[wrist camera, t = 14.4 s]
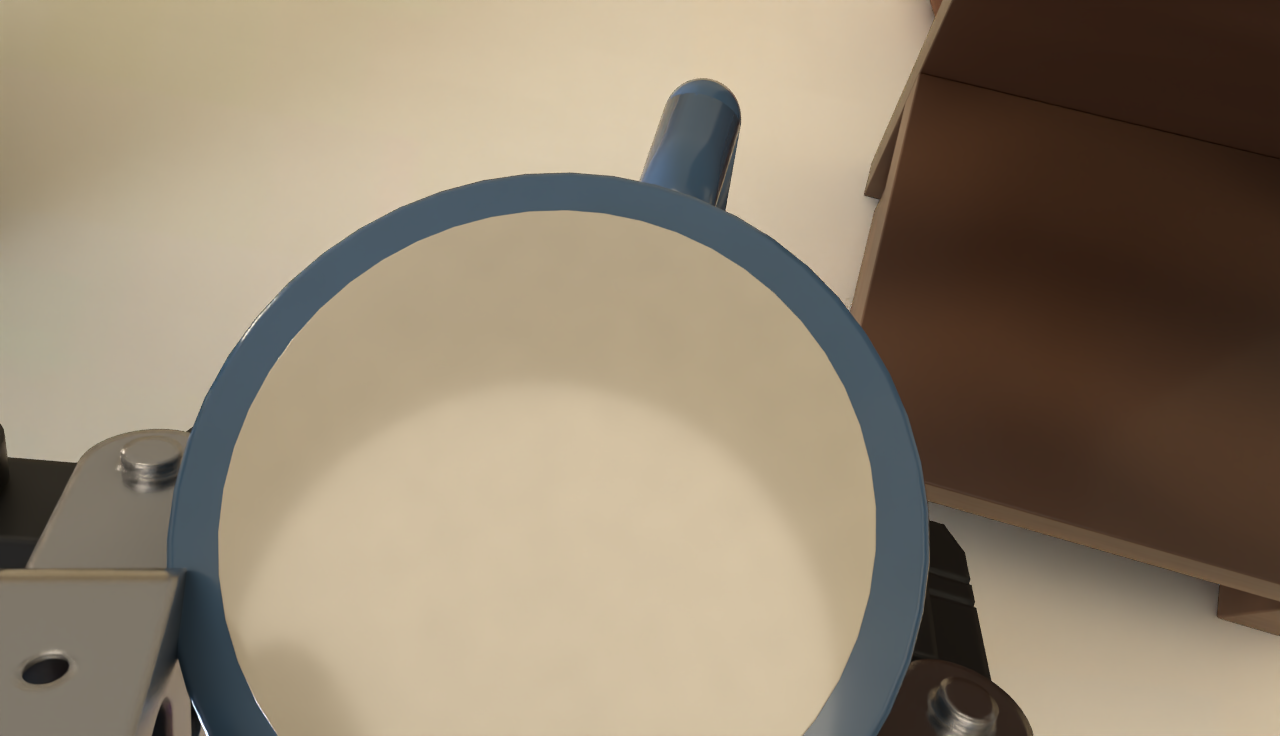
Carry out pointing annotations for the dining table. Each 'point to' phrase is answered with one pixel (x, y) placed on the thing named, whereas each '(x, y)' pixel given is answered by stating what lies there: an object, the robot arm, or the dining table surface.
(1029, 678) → the dining table surface
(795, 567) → the mug
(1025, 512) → the shelf
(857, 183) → the dining table surface
